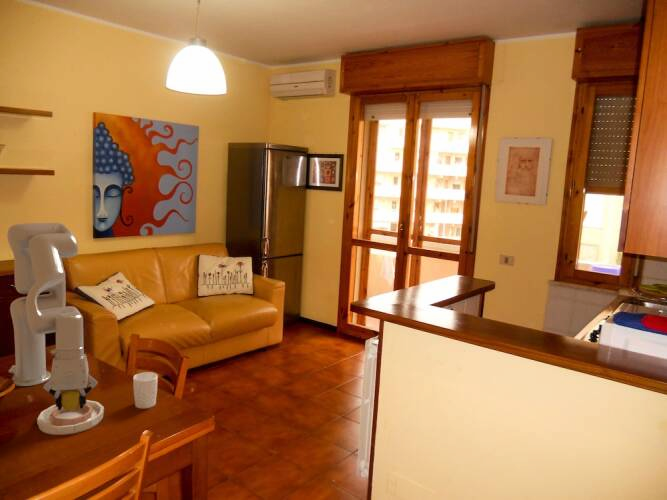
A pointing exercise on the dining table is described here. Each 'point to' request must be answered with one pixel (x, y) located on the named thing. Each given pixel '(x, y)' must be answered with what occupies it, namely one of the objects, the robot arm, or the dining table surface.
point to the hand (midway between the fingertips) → (71, 406)
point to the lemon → (70, 399)
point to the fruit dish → (69, 415)
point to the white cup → (145, 389)
